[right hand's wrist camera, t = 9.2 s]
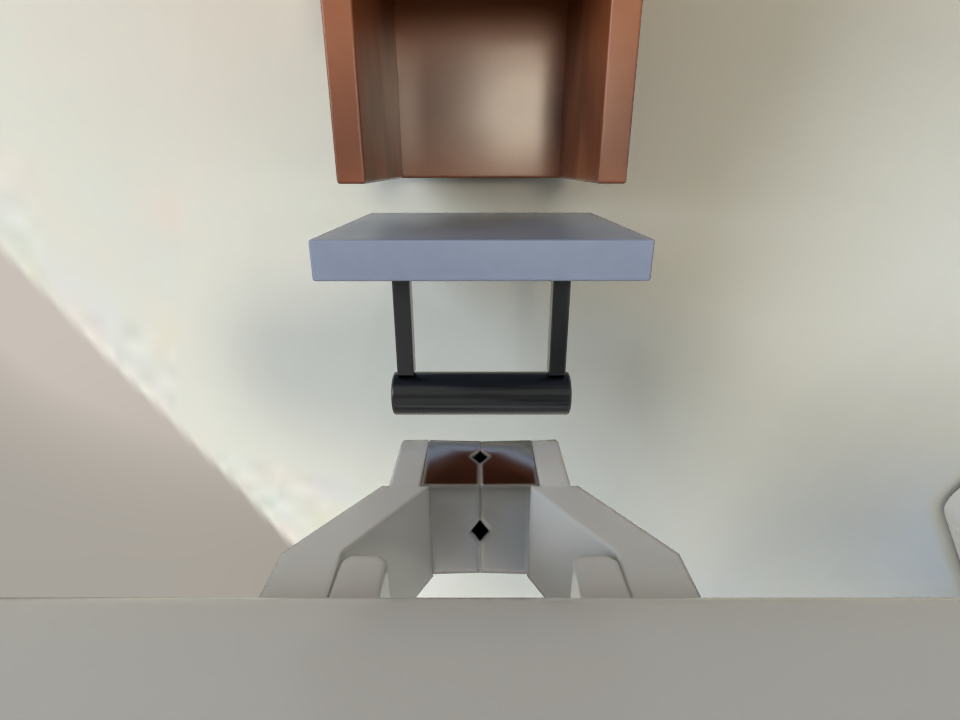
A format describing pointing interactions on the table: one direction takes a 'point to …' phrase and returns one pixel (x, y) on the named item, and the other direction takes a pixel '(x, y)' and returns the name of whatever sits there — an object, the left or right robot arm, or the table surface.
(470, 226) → the drawer
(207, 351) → the table surface
